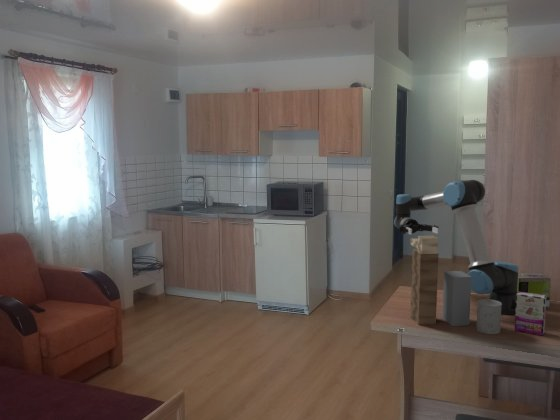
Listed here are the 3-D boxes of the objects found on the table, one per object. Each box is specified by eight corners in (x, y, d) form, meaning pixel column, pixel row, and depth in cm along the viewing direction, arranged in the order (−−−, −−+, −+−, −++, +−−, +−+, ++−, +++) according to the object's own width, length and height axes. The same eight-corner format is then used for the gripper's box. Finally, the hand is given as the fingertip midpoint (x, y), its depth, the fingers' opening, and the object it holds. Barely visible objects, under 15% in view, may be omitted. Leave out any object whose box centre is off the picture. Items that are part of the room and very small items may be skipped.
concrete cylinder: (505, 331, 220) (506, 303, 218) (490, 335, 215) (491, 307, 213) (486, 324, 228) (487, 297, 226) (471, 328, 223) (472, 301, 222)
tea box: (541, 301, 259) (543, 272, 257) (549, 307, 250) (551, 278, 247) (510, 300, 261) (511, 272, 259) (517, 307, 251) (519, 277, 249)
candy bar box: (544, 332, 219) (547, 295, 216) (542, 336, 214) (545, 298, 212) (515, 327, 225) (518, 290, 222) (513, 330, 221) (516, 293, 218)
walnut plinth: (410, 317, 238) (412, 249, 233) (427, 316, 239) (429, 248, 234) (418, 324, 228) (420, 254, 223) (435, 324, 229) (438, 253, 224)
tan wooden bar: (406, 244, 243) (406, 230, 242) (420, 244, 244) (421, 229, 243) (421, 254, 223) (422, 238, 222) (437, 253, 224) (438, 237, 223)
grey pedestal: (442, 318, 236) (444, 271, 233) (459, 317, 237) (461, 270, 234) (451, 326, 226) (453, 277, 223) (469, 325, 227) (471, 276, 224)
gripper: (432, 232, 274) (449, 238, 253) (386, 233, 271) (399, 239, 250) (432, 218, 273) (449, 223, 252) (386, 218, 270) (400, 224, 249)
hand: (424, 231), depth 251 cm, fingers open, 13 cm apart
